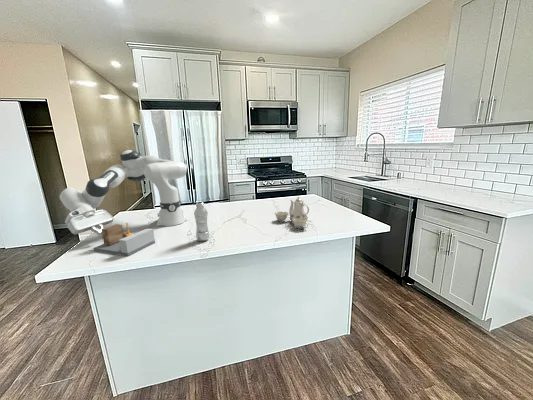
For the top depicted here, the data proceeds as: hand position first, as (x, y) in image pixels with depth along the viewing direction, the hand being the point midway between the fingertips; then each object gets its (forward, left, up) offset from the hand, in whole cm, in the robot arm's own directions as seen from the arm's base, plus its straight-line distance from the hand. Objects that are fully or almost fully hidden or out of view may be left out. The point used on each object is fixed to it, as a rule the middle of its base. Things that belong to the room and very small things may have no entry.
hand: (101, 233), depth 124 cm
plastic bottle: (+25, +45, -6) cm, 52 cm away
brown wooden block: (+4, +7, -4) cm, 9 cm away
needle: (+4, +12, -4) cm, 13 cm away
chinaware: (+30, +100, -6) cm, 104 cm away
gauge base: (+11, +10, -6) cm, 16 cm away
